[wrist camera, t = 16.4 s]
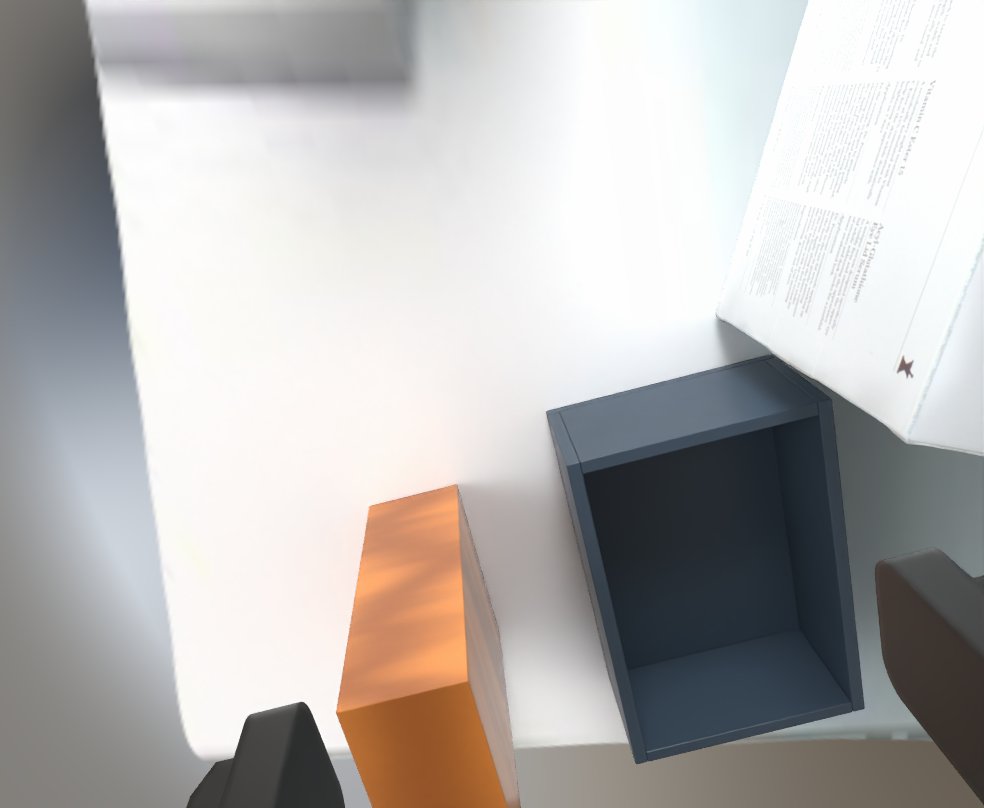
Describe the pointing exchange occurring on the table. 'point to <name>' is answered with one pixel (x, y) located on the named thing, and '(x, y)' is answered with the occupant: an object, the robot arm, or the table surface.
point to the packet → (426, 664)
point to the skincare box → (876, 217)
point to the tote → (714, 554)
